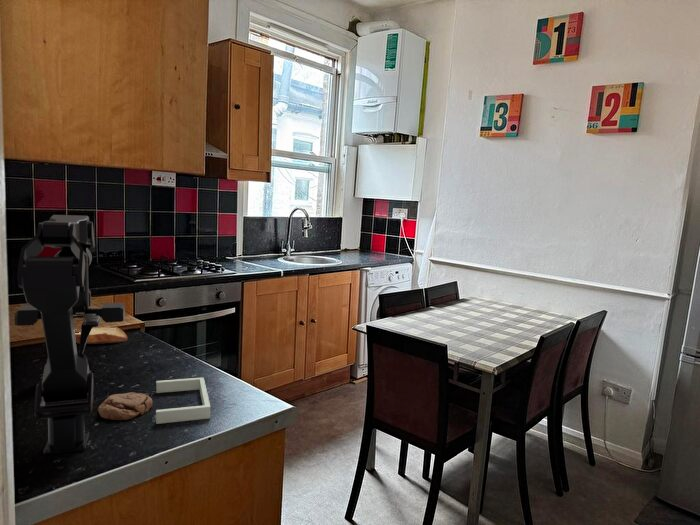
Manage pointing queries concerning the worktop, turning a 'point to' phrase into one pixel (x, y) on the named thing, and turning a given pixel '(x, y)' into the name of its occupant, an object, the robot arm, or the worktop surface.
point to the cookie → (125, 406)
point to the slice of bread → (103, 336)
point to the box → (183, 412)
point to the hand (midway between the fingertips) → (73, 355)
